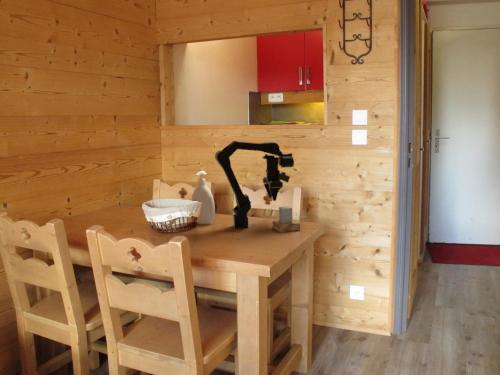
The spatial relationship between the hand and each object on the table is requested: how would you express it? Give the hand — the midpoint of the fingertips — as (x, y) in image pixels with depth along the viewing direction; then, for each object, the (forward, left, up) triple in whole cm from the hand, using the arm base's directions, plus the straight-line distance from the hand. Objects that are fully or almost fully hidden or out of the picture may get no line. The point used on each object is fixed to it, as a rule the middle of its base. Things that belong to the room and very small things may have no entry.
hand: (272, 199), depth 246 cm
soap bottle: (-33, +14, -13) cm, 39 cm away
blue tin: (+3, -12, -9) cm, 15 cm away
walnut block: (+4, -11, -13) cm, 18 cm away
